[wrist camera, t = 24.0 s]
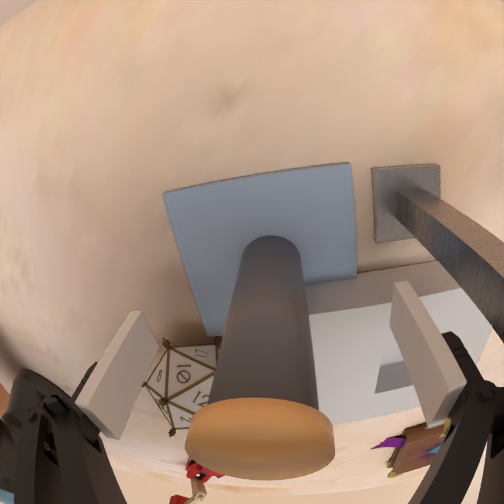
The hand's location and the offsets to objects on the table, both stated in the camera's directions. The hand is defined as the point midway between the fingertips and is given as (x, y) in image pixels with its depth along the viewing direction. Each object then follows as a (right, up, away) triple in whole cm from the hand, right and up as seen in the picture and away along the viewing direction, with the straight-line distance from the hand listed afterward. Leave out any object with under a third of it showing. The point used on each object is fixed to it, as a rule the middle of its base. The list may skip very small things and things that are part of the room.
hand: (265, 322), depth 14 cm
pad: (+1, +3, +6) cm, 7 cm away
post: (+10, +7, +3) cm, 12 cm away
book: (+30, -26, +18) cm, 44 cm away
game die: (-5, -6, +11) cm, 13 cm away
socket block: (+12, -4, +8) cm, 15 cm away
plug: (+1, +3, +5) cm, 6 cm away
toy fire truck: (-8, -28, +22) cm, 37 cm away
